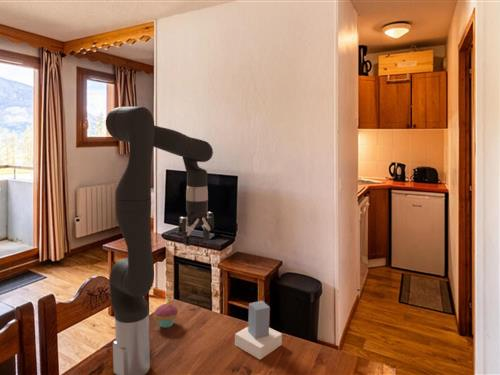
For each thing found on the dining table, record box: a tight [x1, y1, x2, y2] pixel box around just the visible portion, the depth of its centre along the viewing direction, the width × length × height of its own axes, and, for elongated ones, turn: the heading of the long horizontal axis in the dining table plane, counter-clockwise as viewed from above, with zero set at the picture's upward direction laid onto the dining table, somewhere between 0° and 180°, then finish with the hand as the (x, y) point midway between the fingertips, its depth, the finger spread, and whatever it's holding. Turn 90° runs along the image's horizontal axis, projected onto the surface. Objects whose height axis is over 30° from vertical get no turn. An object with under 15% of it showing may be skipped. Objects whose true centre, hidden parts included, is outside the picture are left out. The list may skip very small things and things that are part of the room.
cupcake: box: [153, 291, 179, 329], centre depth 126 cm, size 9×8×12 cm
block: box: [247, 300, 271, 339], centre depth 115 cm, size 5×5×10 cm
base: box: [234, 326, 283, 361], centre depth 116 cm, size 11×11×4 cm
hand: (196, 243), depth 125 cm, fingers open, 8 cm apart
